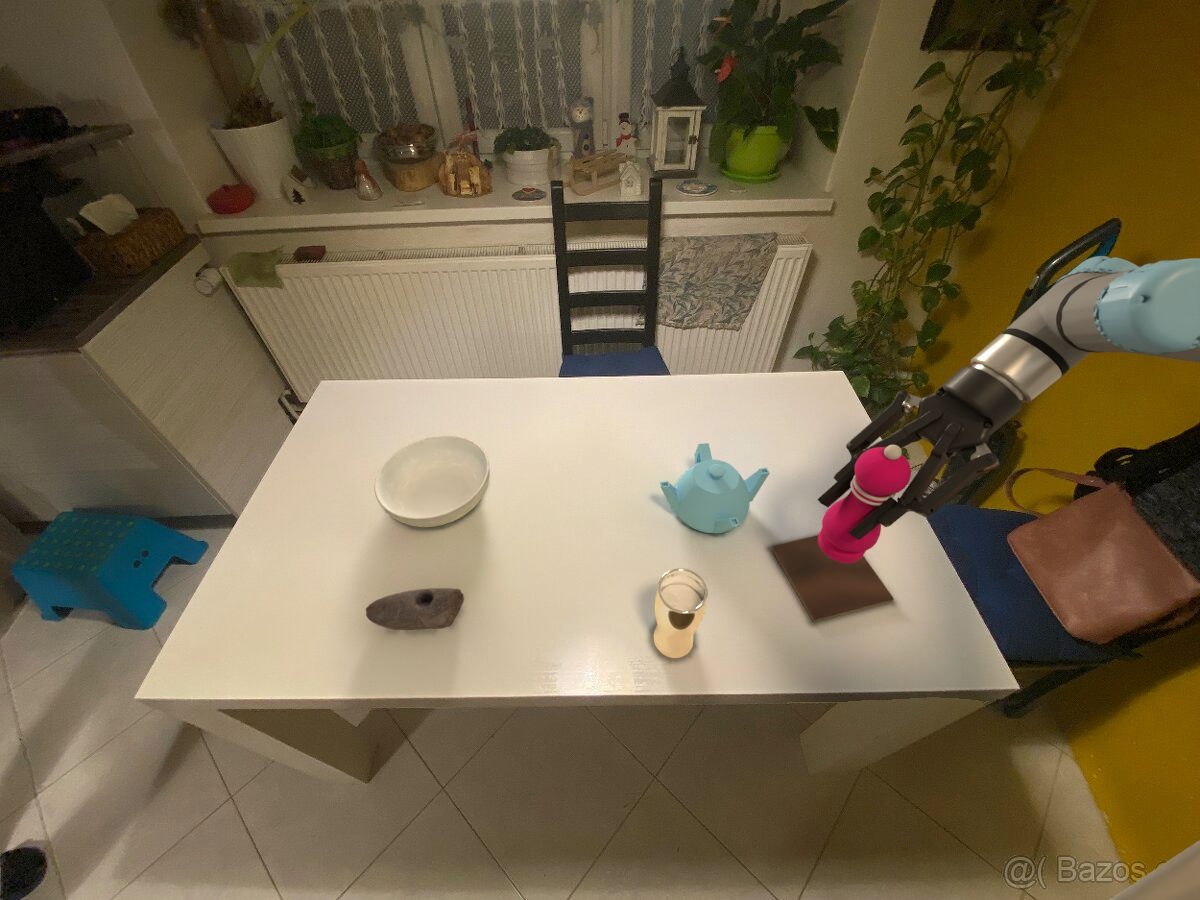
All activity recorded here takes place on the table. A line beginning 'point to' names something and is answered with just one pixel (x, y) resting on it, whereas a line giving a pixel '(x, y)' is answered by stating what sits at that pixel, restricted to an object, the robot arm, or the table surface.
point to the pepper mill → (863, 502)
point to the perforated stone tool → (416, 609)
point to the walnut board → (829, 580)
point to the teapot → (713, 493)
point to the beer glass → (678, 611)
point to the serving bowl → (433, 480)
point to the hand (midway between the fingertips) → (838, 519)
